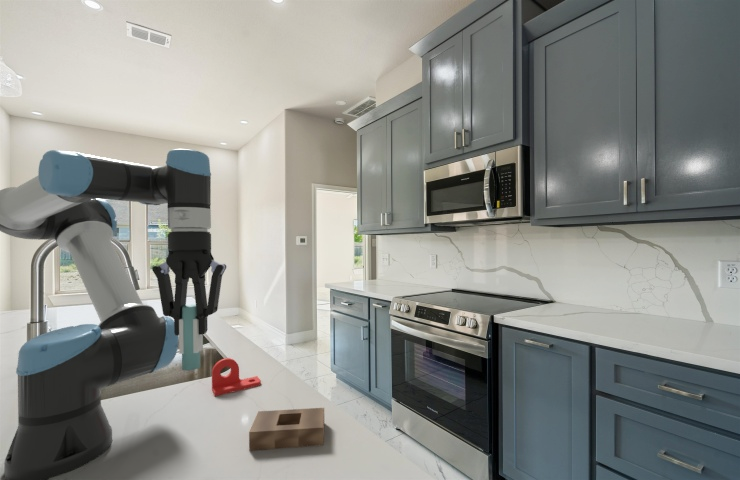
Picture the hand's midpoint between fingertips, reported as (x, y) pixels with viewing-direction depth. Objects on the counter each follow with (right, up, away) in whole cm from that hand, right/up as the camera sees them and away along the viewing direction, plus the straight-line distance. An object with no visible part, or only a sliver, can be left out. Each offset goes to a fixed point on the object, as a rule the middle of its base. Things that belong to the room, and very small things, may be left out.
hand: (191, 350), depth 68 cm
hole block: (+18, -18, +3) cm, 26 cm away
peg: (0, -3, 0) cm, 3 cm away
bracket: (-1, -19, +27) cm, 33 cm away
